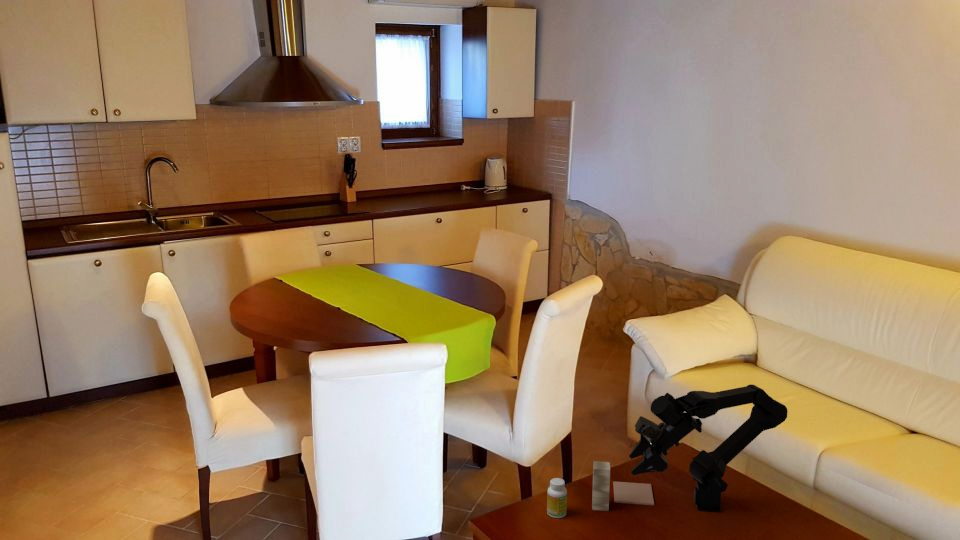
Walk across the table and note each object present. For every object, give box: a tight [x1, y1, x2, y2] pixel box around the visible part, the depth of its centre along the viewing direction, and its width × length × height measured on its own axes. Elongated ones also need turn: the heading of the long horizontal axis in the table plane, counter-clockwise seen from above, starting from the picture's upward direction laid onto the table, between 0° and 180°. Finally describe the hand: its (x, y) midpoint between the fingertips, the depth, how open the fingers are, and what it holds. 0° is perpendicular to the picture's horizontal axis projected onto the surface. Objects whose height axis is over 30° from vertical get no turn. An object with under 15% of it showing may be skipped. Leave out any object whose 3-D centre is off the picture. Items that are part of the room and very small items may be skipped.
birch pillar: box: [591, 460, 611, 512], centre depth 202 cm, size 4×4×12 cm
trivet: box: [612, 481, 655, 506], centre depth 210 cm, size 11×11×1 cm
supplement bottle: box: [546, 477, 568, 519], centre depth 199 cm, size 5×5×10 cm
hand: (631, 465), depth 199 cm, fingers open, 9 cm apart
